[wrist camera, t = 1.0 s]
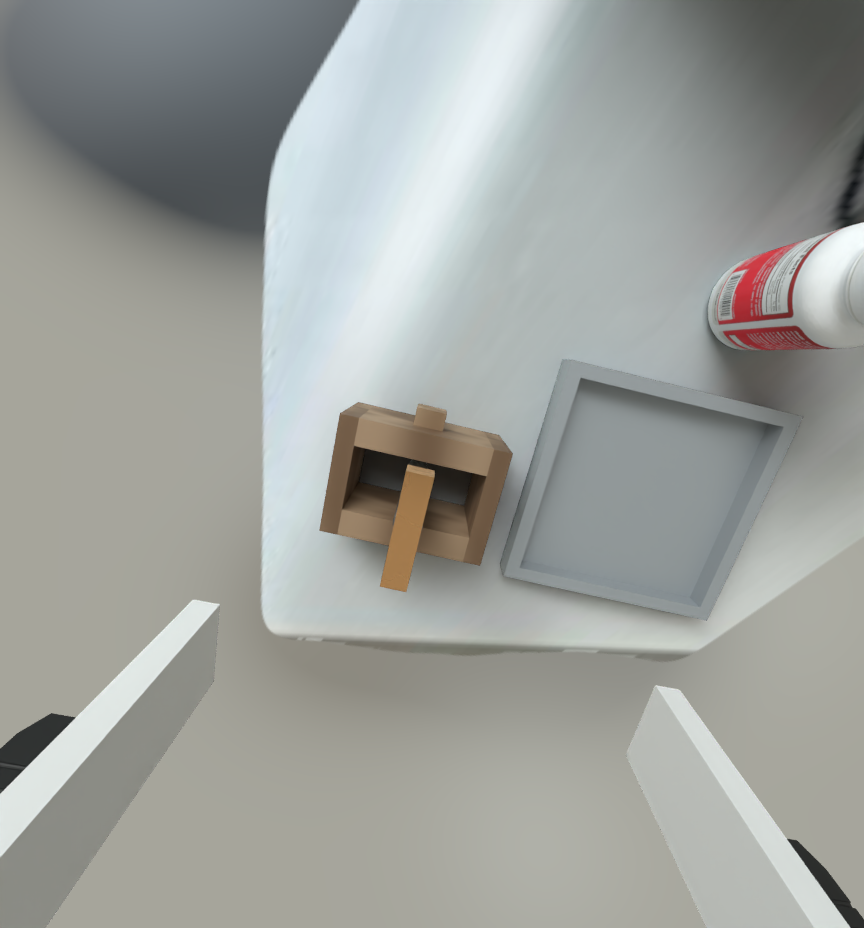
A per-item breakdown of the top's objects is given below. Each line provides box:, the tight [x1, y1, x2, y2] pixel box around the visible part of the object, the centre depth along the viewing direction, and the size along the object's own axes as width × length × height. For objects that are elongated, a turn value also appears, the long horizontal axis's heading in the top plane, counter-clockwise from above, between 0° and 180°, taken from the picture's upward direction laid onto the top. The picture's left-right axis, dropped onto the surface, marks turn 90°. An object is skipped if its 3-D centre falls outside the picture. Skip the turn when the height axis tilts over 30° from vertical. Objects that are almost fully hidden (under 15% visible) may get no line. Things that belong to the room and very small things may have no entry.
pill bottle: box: [708, 222, 864, 350], centre depth 24 cm, size 6×6×11 cm
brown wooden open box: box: [319, 402, 513, 566], centre depth 29 cm, size 11×9×6 cm
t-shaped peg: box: [380, 459, 435, 592], centre depth 26 cm, size 6×2×12 cm, turn 167°
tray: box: [500, 359, 803, 621], centre depth 32 cm, size 17×17×2 cm
